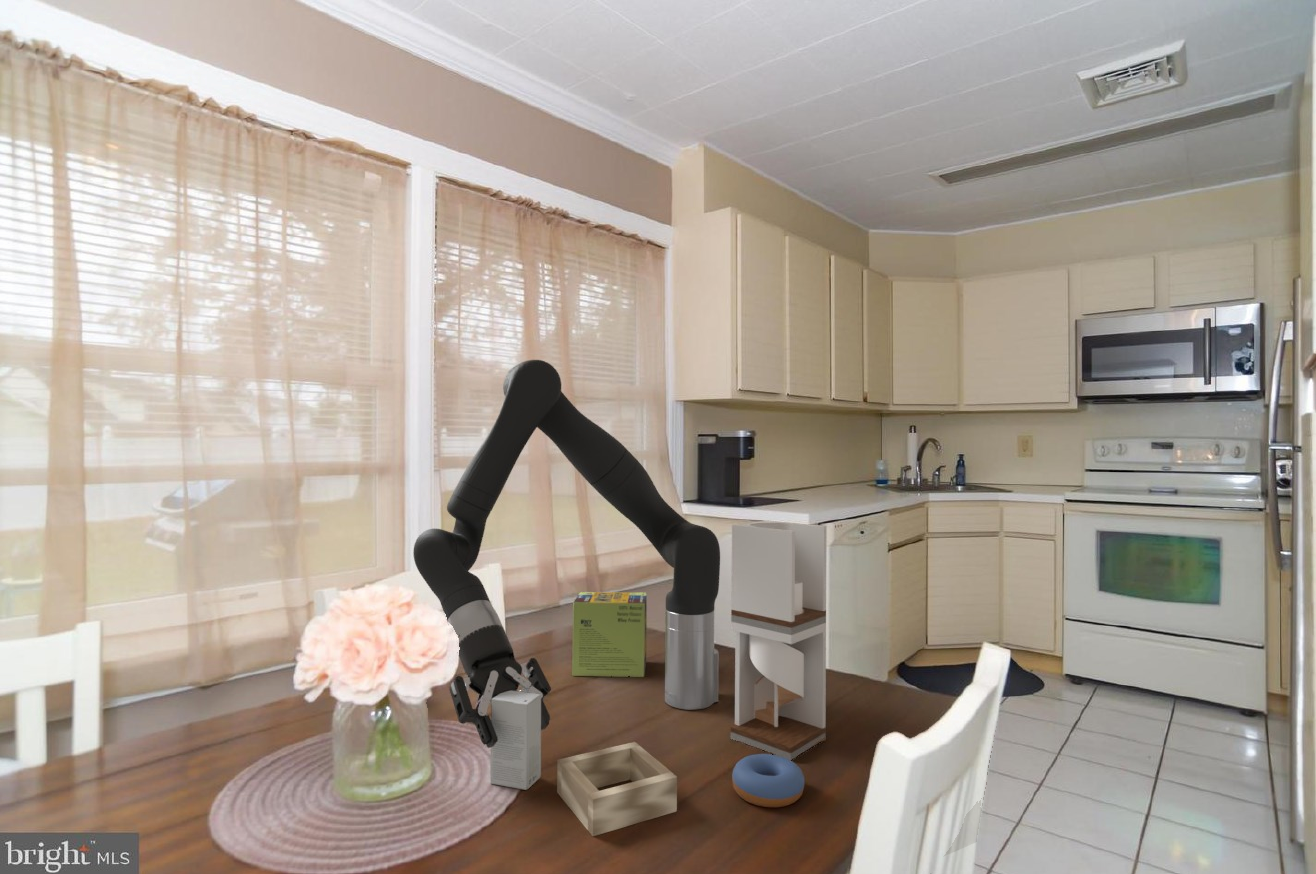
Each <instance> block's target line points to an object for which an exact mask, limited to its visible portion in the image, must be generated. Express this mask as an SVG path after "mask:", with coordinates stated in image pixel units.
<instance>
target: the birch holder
mask: <svg viewBox="0 0 1316 874" xmlns="http://www.w3.org/2000/svg"><path fill="white" fill-rule="evenodd" d="M556 772H557V775H556V776H557V778H556V779H557V782H556V783H557V785H556V786H557V788H556V790H557V792H556V793H557V795H558V796H560V798H561V799H562V800H563V802H564V803H565V804H566V806H568V808H569V809H570V810H571V811H572V813H573V814H574V815H575V817H576V818H577V819H578V820H579V821H580V822H581V824H582V825H583V826H584V828H585V829H586V830H587V832H589V834H590V835H591V837H595V836H596V837H597V836H599V835H602V834H606V833H608V832H612V831H617V830H619V829H622V828H626V827H630V826H632V825H635V824H639V823H643V822H646V821H649V820H652V819H657V818H659V817H662V816H665V815H669V814H672V813H676V812H677V809H678V776H677V775H675V773H673V772H672V771H671V770H669V769H668V768H667V767H666V766H665V765H664V764H663V763H661V762H660V761H659V760H658V759H656V758H655V757H654V756H653V755H651V754H650V753H649V752H648V751H646V750H645V748H643V747H642V746H640V745H639V744H638V743H637V742H636V741H632V742H629V743H623V744H620V745H616V746H611V747H606V748H602V749H599V750H594V751H590V752H585V753H582V754H576V755H572V756H568V757H563V758H559V759H557V771H556ZM626 781H631V782H628V783H625V784H621V785H617V786H614V787H609V788H606V789H602V790H599V788H604V787H607V786H610V785H614V784H618V783H622V782H626Z"/></svg>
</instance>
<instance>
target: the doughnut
mask: <svg viewBox="0 0 1316 874" xmlns="http://www.w3.org/2000/svg"><path fill="white" fill-rule="evenodd" d="M731 779H732V780H731V781H732V787H733V789H734V791H735V792H736V794H737V795H738V797H741V799H743V800H744V801H746V802H747V803H749V804H752V805H755V806H758V807H764V808H782V807H783V808H784V807H787V806H789V805H792V804H794V803H796V802H797V801H799V799H800V798H801V797H802V795H803V793H804V789H805V782H806V781H805V776H804V774H803V771H802V769H801V768H800V767H799V766H798V765H797V764H796V763H795V762H794V761H793V760H792V761H791V760H789V759H787V758H784V757H781V756H778V755H772V754H770V753H757V754H751V755H748V756H745V757H743V758H741V759H740V760H739V761H737V763H736V764H735V765H734V768H733V769H732V776H731Z"/></svg>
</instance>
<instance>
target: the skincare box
mask: <svg viewBox="0 0 1316 874" xmlns="http://www.w3.org/2000/svg"><path fill="white" fill-rule="evenodd" d="M490 720H491V722H492V725H493V727H494V730H495V732H496V735H497V738H498V741H497V742H496V744H495V745H494V746H493V747H490V784H492V785H496V786H502V787H506V788H507V787H508V788H514V789H518V790H523V791H524V790H525V791H527V790H529V788H530V787H531V788H532V785H534V784H535V783H536V782H537V781H538V780H539V779H540V778H541V776H542V730H541V694H533V693H526V692H519V691H507V692H504V693H501V694H499V695H497V696H495V697H494V698H492V699H491V701H490Z"/></svg>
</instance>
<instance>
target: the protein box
mask: <svg viewBox="0 0 1316 874" xmlns="http://www.w3.org/2000/svg"><path fill="white" fill-rule="evenodd" d="M647 595H648V593H647V592H620V591H619V592H617V591H605V592H603V591H600V592H598V591H594V592H593V591H585V592H584V591H580V592H579V593H578V595H577V597H576V598H575V599H574V601H573V603H572V643H571V644H572V650H571V651H572V652H571V658H572V659H571V676H573V677H575V676H576V677H611V676H612V677H613V678H614V677H615V678H616V677H618V678H620V677H621V678H625V677H627V678H644V677H645V672H646V665H647V637H648V636H647V628H648V627H647V626H648V625H647V624H648V623H647V621H648V620H647V612H648V611H647V608H648V607H647V603H648V602H647ZM628 676H630V677H628ZM612 677H611V678H612Z"/></svg>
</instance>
